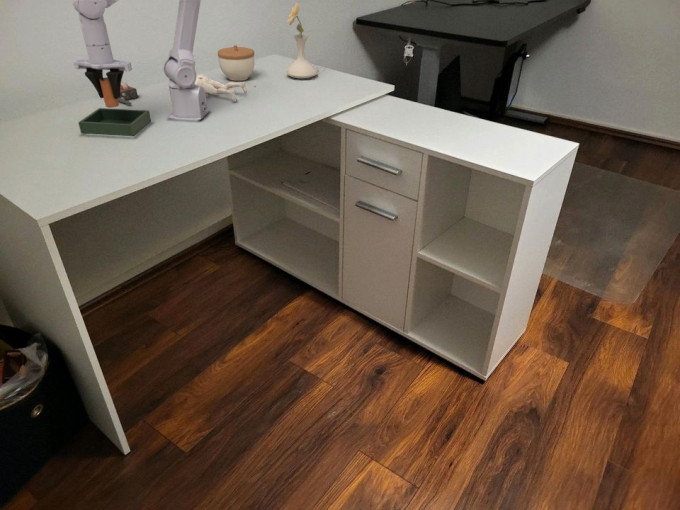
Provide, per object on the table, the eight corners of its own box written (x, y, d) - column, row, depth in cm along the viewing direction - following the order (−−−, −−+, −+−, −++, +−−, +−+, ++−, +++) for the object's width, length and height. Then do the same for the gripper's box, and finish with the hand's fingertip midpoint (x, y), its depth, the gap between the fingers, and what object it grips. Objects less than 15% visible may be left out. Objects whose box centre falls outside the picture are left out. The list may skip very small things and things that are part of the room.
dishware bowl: (253, 83, 180) (250, 50, 174) (217, 82, 180) (213, 49, 174) (258, 73, 191) (256, 41, 184) (224, 72, 191) (220, 40, 184)
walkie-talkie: (92, 95, 167) (128, 109, 157) (89, 81, 165) (125, 94, 154) (117, 89, 173) (153, 102, 163) (114, 75, 170) (150, 88, 160)
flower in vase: (289, 71, 194) (287, -3, 180) (319, 73, 193) (319, -1, 179) (281, 81, 184) (278, 3, 169) (313, 83, 182) (312, 5, 168)
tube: (121, 103, 142) (115, 77, 138) (115, 107, 139) (109, 81, 135) (109, 103, 142) (103, 77, 138) (103, 107, 139) (96, 80, 135)
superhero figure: (250, 97, 171) (187, 88, 179) (249, 78, 169) (185, 70, 176) (230, 103, 162) (165, 94, 170) (229, 83, 159) (163, 75, 167)
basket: (151, 122, 148) (149, 110, 146) (134, 138, 138) (131, 125, 136) (102, 120, 149) (99, 107, 147) (81, 135, 139) (78, 122, 137)
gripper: (61, 46, 129) (76, 100, 136) (118, 48, 128) (130, 103, 135) (76, 39, 134) (89, 92, 142) (130, 42, 133) (141, 95, 141)
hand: (110, 97), depth 139 cm, fingers closed on tube, 3 cm apart
